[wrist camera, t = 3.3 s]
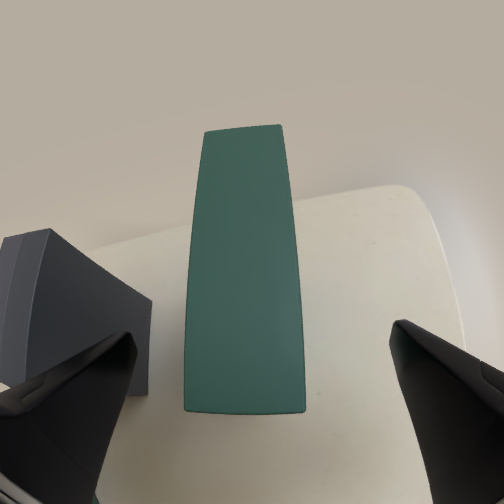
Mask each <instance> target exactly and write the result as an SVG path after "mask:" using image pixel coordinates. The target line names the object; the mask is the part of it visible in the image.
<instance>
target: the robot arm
mask: <svg viewBox="0 0 504 504" xmlns="http://www.w3.org/2000/svg"><path fill="white" fill-rule="evenodd" d="M389 346H390V350H391V354H392V358H393V362H394V366H395V370H396V374H397V378H398V382H399V385H400V388H401V391H402V393H403V396H404V399H405V402H406V405H407V408H408V411H409V414H410V417H411V420H412V423H413V426H414V429H415V433H416V436H417V439H418V443H419V446H420V450H421V453H422V457H423V461H424V465H425V468H426V472H427V477H428V481H429V484H430V485H429V486H430V490H431V495H432V500H433V504H504V372H502V371H499V370H498V369H496V368H494V367H492V366H490V365H488V364H487V363H485V362H483V361H480V360H479V359H478V358H476V357H474V356H472V355H470V354H469V353H467V352H465V351H463V350H461V349H459V348H458V347H456V346H454V345H452V344H450V343H449V342H447V341H445V340H443V339H441V338H439V337H438V336H436V335H434V334H432V333H430V332H428V331H426V330H425V329H423V328H421V327H419V326H417V325H415V324H414V323H412V322H410V321H408V320H406V319H403V320H396V321H395V322H394V323H393V327H392V331H391V336H390V340H389ZM137 356H138V348H137V346H136V343H135V341H134V338H133V335H132V333H131V332H130V331H124V330H120V331H118V332H116V333H114V334H112V335H110V336H109V337H107V338H105V339H103V340H101V341H100V342H98V343H96V344H94V345H92V346H90V347H89V348H87V349H85V350H83V351H81V352H80V353H78V354H76V355H74V356H72V357H70V358H69V359H67V360H65V361H63V362H61V363H59V364H58V365H56V366H54V367H52V368H50V369H48V370H47V371H45V372H43V373H41V374H39V375H37V376H35V377H33V378H31V379H30V380H27V381H25V382H23V383H21V384H19V385H17V386H14V387H12V388H10V389H8V390H5V391H3V392H1V393H0V504H92V501H93V497H94V493H95V489H96V486H97V481H98V478H99V475H100V472H101V468H102V465H103V462H104V459H105V455H106V452H107V449H108V446H109V443H110V440H111V437H112V434H113V431H114V428H115V425H116V423H117V420H118V417H119V414H120V411H121V409H122V406H123V403H124V400H125V398H126V395H127V392H128V389H129V386H130V383H131V379H132V375H133V371H134V367H135V364H136V360H137Z"/></svg>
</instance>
